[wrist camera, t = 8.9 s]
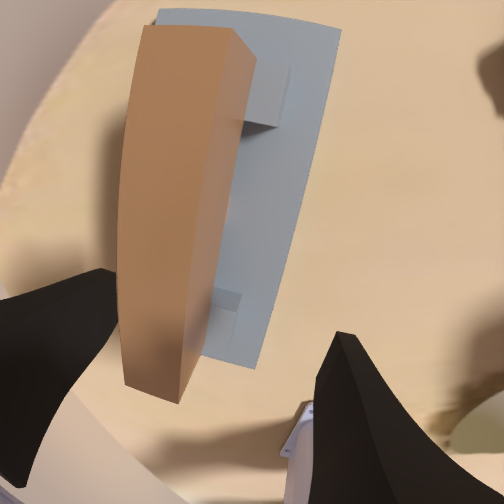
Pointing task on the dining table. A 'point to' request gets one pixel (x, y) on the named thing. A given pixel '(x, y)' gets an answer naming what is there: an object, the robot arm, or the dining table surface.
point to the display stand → (264, 169)
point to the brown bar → (176, 196)
